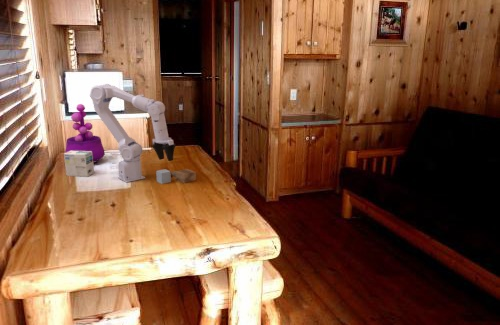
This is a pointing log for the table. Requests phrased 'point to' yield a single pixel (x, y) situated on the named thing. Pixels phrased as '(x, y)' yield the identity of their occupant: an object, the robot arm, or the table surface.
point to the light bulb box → (79, 163)
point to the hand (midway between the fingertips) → (166, 159)
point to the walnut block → (185, 175)
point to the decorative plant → (84, 137)
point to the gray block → (163, 176)
